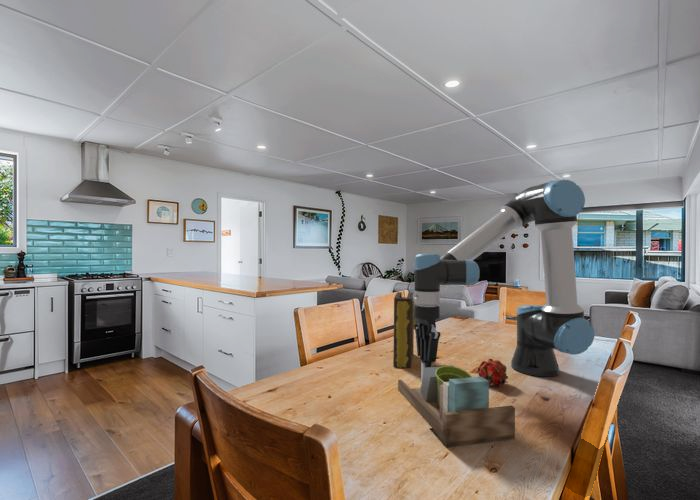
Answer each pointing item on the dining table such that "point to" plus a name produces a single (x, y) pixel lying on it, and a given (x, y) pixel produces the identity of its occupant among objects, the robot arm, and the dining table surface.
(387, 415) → the dining table surface
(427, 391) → the bookend
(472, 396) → the book rack
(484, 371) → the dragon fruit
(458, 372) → the plant pot
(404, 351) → the book
